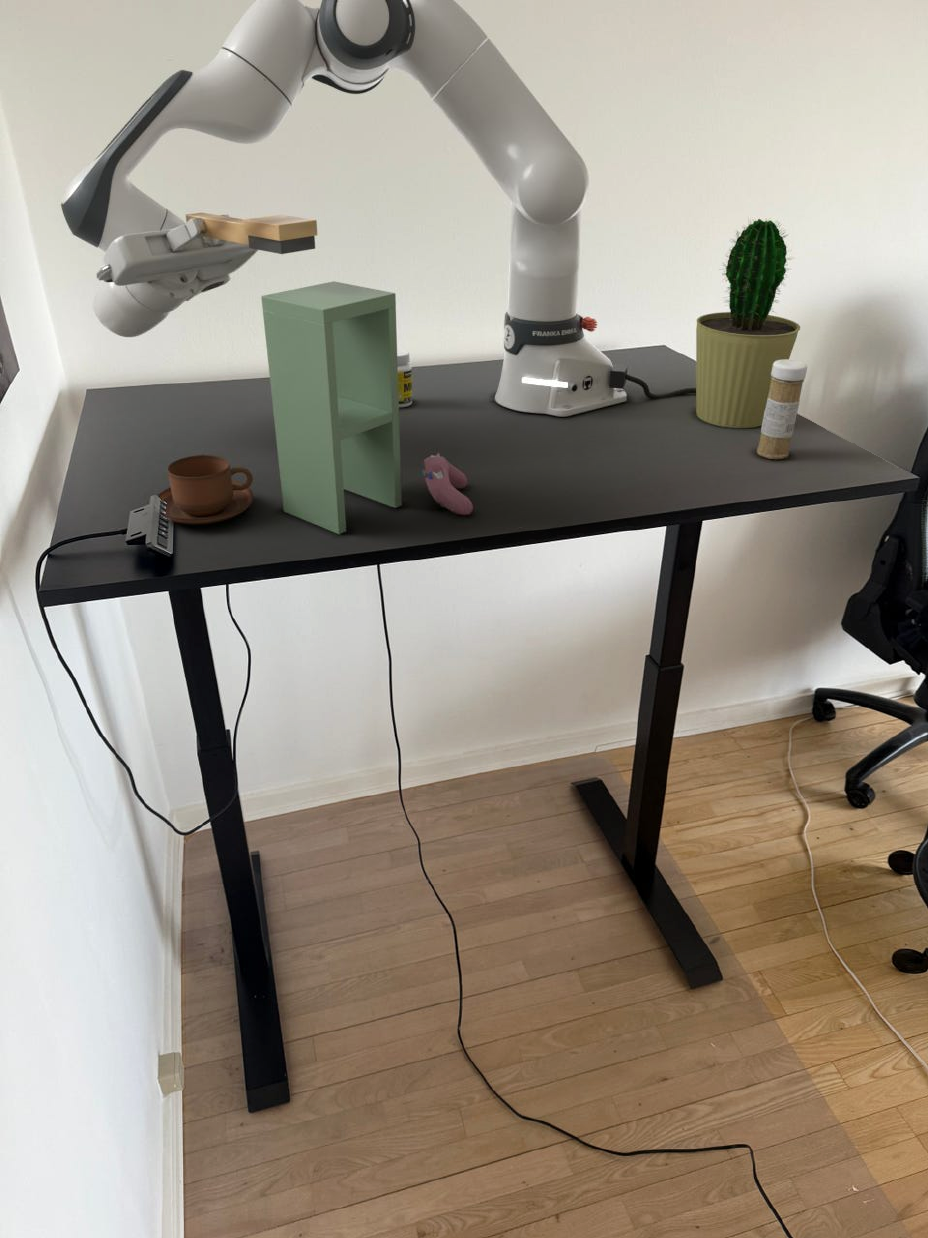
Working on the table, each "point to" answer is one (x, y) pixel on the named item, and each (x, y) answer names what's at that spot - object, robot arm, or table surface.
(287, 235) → the desk brush
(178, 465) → the cup and saucer
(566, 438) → the table surface
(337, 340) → the sage stand
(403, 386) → the supplement bottle
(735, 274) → the potted cactus
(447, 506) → the video game controller
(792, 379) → the sprinkles bottle
